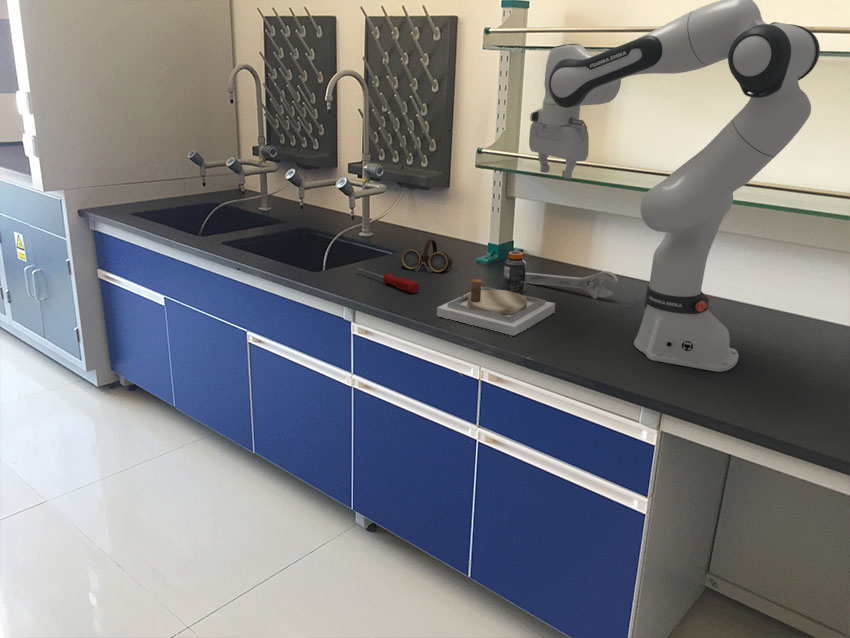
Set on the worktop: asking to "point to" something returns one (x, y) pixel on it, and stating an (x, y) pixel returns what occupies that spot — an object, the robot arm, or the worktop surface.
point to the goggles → (427, 259)
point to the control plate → (497, 322)
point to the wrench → (576, 282)
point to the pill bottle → (514, 272)
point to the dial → (495, 300)
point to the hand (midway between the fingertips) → (555, 175)
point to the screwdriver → (398, 282)
